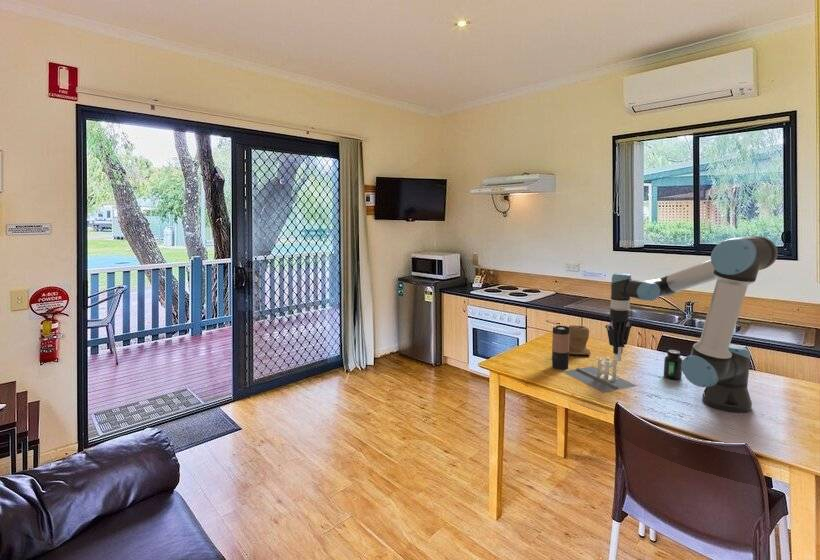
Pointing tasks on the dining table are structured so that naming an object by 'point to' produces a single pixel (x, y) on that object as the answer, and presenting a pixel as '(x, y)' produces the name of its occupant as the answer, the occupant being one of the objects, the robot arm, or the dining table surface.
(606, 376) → the stool
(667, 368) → the supplement bottle
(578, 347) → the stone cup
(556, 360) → the travel mug
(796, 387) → the dining table surface
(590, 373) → the board
